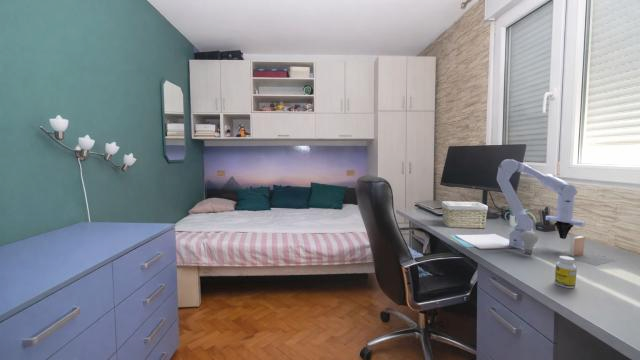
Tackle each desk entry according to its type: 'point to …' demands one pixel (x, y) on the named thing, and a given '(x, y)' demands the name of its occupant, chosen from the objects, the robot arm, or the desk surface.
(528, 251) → the lightbulb
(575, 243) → the tile
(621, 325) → the desk surface
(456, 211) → the storage basket
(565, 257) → the supplement bottle
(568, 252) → the mat
